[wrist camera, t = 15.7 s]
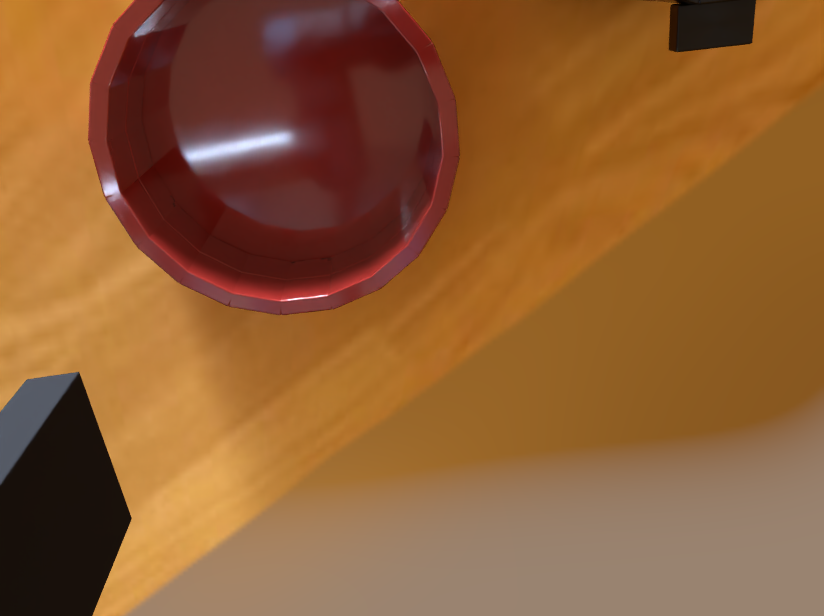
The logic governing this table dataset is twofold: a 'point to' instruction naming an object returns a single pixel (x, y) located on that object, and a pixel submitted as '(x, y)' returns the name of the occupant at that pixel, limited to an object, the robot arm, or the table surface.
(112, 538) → the robot arm
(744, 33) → the black cylindrical cup
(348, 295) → the casserole
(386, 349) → the table surface
